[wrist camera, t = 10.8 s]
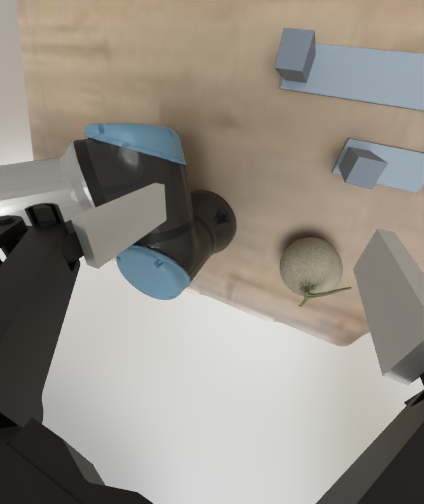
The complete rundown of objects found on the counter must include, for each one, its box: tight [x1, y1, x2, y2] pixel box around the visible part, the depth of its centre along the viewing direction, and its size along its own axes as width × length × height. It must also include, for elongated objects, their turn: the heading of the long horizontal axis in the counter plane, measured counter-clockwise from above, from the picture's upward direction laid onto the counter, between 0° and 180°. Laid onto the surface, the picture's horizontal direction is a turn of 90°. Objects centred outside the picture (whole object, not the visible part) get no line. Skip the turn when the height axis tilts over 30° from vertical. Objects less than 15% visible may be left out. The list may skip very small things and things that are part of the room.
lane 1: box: [274, 28, 424, 111], centre depth 22 cm, size 30×5×11 cm, turn 81°
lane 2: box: [332, 138, 424, 193], centre depth 27 cm, size 12×5×11 cm, turn 81°
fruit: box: [280, 238, 352, 307], centre depth 37 cm, size 10×12×15 cm
